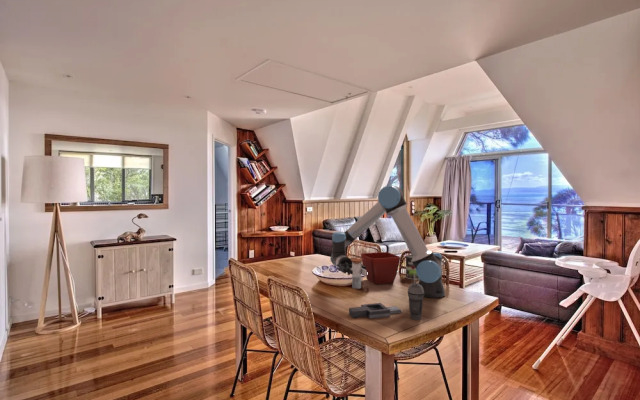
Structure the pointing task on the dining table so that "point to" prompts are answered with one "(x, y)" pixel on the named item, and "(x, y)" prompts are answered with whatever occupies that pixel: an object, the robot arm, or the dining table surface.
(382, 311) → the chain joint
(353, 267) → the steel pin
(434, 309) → the dining table surface
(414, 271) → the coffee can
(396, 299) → the dining table surface
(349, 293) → the dining table surface
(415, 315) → the beverage cup
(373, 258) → the plant pot
